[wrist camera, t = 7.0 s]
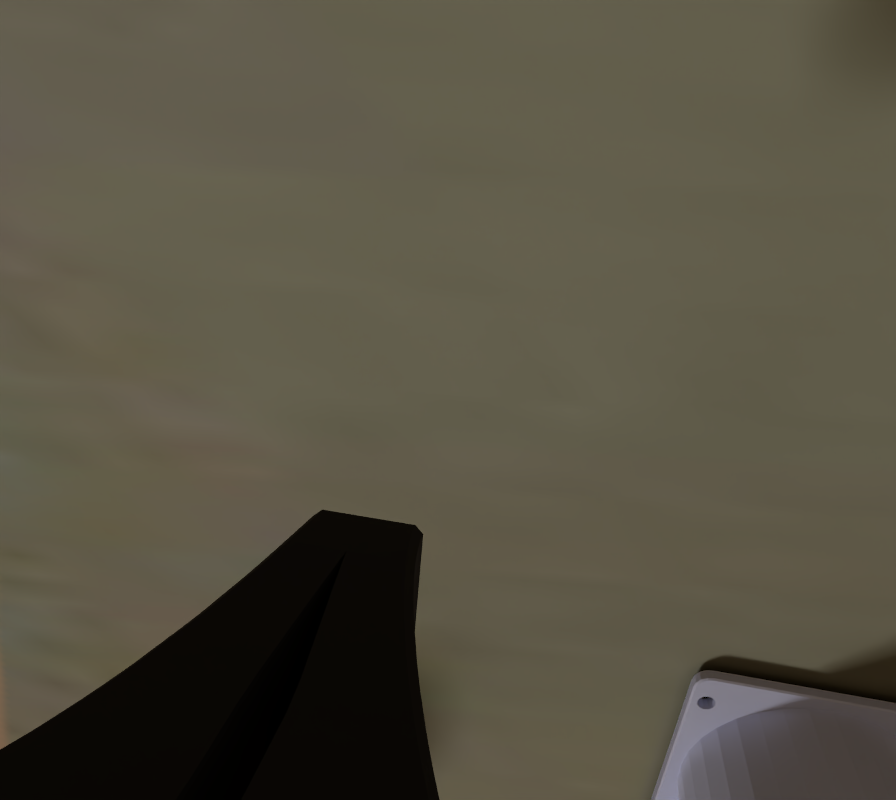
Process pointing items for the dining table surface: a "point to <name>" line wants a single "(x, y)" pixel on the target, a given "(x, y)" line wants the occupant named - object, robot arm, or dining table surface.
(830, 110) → the dining table surface
